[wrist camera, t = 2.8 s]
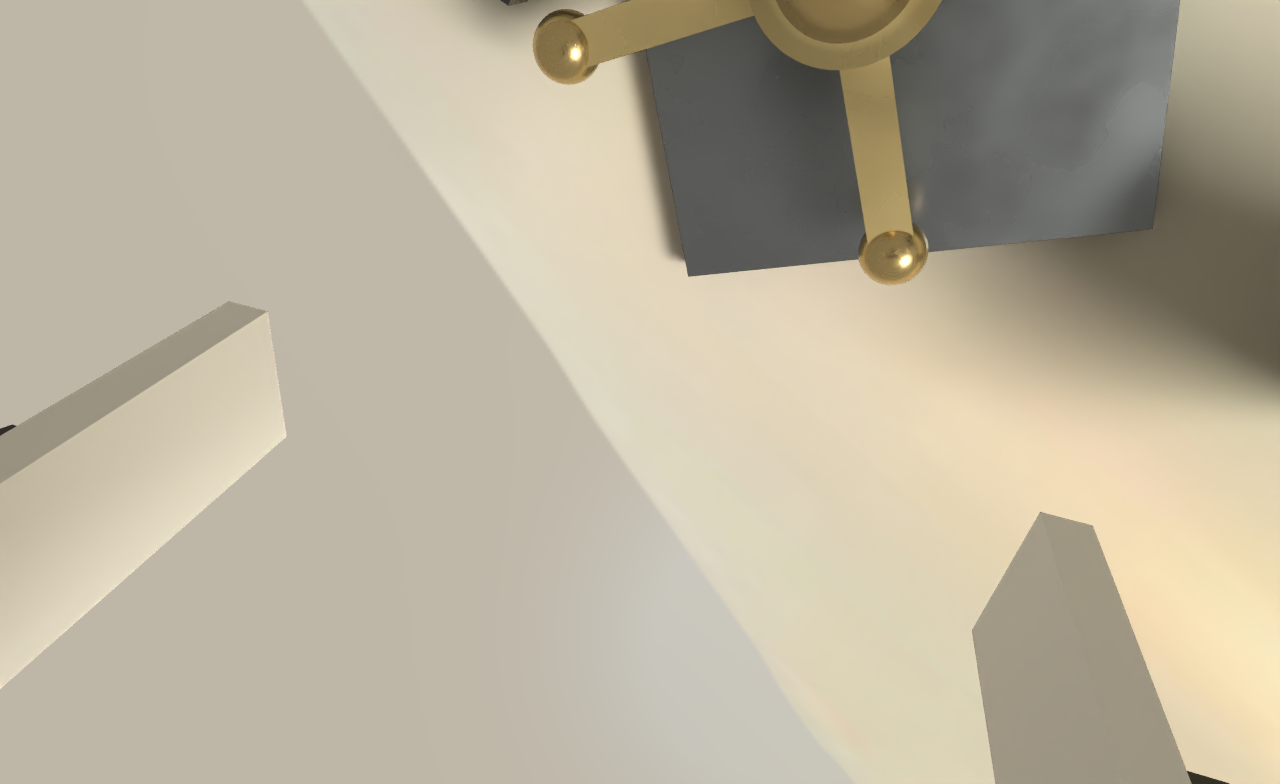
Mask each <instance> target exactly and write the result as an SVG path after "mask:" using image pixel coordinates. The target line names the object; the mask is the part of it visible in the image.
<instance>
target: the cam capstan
mask: <svg viewBox="0 0 1280 784" xmlns="http://www.w3.org/2000/svg"><path fill="white" fill-rule="evenodd" d="M941 1H942V0H630V1H627V2H624V3H621V4H618V5H615V6H612V7H609V8H606V9H603V10H600V11H597V12H594V13H591V14H588V15H584V14H582V13H580V12H578V11H575V10H571V9H561V10H557V11H554V12H552V13H550V14H548V15H547V16H546V17H545V18H544V19H543V20H542V21H541V22H540V23H539V25H538V27H537V29H536V31H535V34H534V39H533V52H534V57H535V60H536V62H537V64H538V66H539V68H540V69H541V71H542V72H543V73H544V74H545V75H546V76H547V77H548V78H550V79H552V80H553V81H555V82H557V83H561V84H568V85H571V84H577V83H580V82H582V81H584V80H586V79H587V78H588V77H590V76H591V75H592V74H593V73H594V71H595V70H596V68H597V66H598V64H599V63H602V62H606V61H609V60H612V59H615V58H619V57H622V56H625V55H628V54H632V53H635V52H638V51H641V50H644V49H648V48H651V47H654V46H657V45H661V44H664V43H667V42H670V41H673V40H677V39H680V38H683V37H686V36H690V35H693V34H696V33H699V32H702V31H706V30H709V29H712V28H715V27H719V26H722V25H725V24H728V23H731V22H735V21H738V20H741V19H744V18H748V17H751V16H755V18H756V21H757V23H758V24H759V26H760V27H761V29H762V30H763V32H764V34H765V35H766V36H767V37H768V38H769V40H770V41H771V42H772V43H773V44H774V45H775V46H776V47H777V48H778V49H780V50H781V51H782V52H783V53H785V54H786V55H788V56H789V57H791V58H792V59H794V60H796V61H798V62H800V63H802V64H805V65H808V66H811V67H814V68H819V69H825V70H840V77H841V83H842V89H843V95H844V101H845V107H846V113H847V119H848V126H849V132H850V138H851V144H852V150H853V156H854V162H855V169H856V175H857V181H858V187H859V193H860V199H861V205H862V212H863V218H864V224H865V230H866V232H865V233H864V235H863V236H862V238H861V241H860V244H859V249H858V257H859V262H860V265H861V267H862V269H863V270H864V272H865V273H866V274H867V275H868V276H869V277H870V278H871V279H873V280H874V281H876V282H878V283H881V284H886V285H896V284H901V283H904V282H907V281H909V280H911V279H912V278H914V277H915V276H916V275H917V274H918V273H919V272H920V271H921V270H922V268H923V267H924V265H925V263H926V260H927V257H928V241H927V238H926V236H925V234H924V232H923V230H922V229H921V228H920V227H919V226H918V225H917V224H916V223H914V222H913V221H912V220H911V213H910V205H909V198H908V190H907V183H906V175H905V168H904V160H903V153H902V145H901V138H900V131H899V123H898V116H897V108H896V101H895V93H894V86H893V78H892V71H891V63H890V55H892V54H893V53H895V52H896V51H898V50H899V49H900V48H902V47H903V46H905V45H906V44H907V43H908V42H909V41H910V40H912V39H913V38H914V37H915V36H916V35H917V34H918V33H919V32H920V31H921V29H922V28H923V27H924V26H925V25H926V24H927V23H928V21H929V20H930V18H931V17H932V16H933V14H934V13H935V11H936V10H937V8H938V6H939V4H940V3H941Z"/></svg>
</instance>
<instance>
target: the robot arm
mask: <svg viewBox="0 0 1280 784" xmlns="http://www.w3.org/2000/svg"><path fill="white" fill-rule="evenodd" d="M285 437H286V429H285V423H284V416H283V409H282V403H281V396H280V390H279V383H278V376H277V370H276V363H275V357H274V350H273V344H272V337H271V331H270V324H269V317H268V311H264V310H260V309H256V308H252V307H249V306H245V305H241V304H237V303H233V302H230V301H229V302H227V303H225V304H223V305H222V306H220V307H218V308H217V309H215V310H213V311H212V312H210V313H209V314H206V315H205V316H203V317H201V318H200V319H198V320H196V321H194V322H193V323H191V324H189V325H188V326H186V327H184V328H183V329H181V330H179V331H178V332H176V333H174V334H173V335H171V336H169V337H167V338H166V339H164V340H162V341H161V342H159V343H157V344H155V345H154V346H152V347H150V348H149V349H147V350H145V351H144V352H142V353H140V354H138V355H137V356H135V357H133V358H132V359H130V360H128V361H127V362H125V363H123V364H121V365H120V366H118V367H116V368H115V369H113V370H111V371H110V372H108V373H106V374H105V375H103V376H101V377H100V378H98V379H96V380H94V381H93V382H91V383H89V384H87V385H86V386H84V387H83V388H81V389H79V390H77V391H76V392H74V393H73V394H71V395H69V396H67V397H65V398H64V399H62V400H60V401H59V402H57V403H56V404H53V405H52V406H50V407H48V408H47V409H45V410H43V411H42V412H40V413H38V414H37V415H35V416H33V417H32V418H30V419H28V420H26V421H25V422H23V423H21V424H20V425H18V426H15V425H10V426H7V427H4V428H1V429H0V689H1V688H2V687H3V686H4V685H5V684H6V683H7V682H8V681H10V680H11V679H12V678H13V677H14V676H15V675H16V674H18V673H19V672H20V671H21V670H22V669H23V668H24V667H26V666H27V665H28V664H29V663H30V662H31V661H32V660H33V659H35V658H36V657H37V656H38V655H39V654H40V653H41V652H43V651H44V650H45V649H46V648H47V647H48V646H49V645H50V644H52V643H53V642H54V641H55V640H56V639H57V638H58V637H60V636H61V635H62V634H63V633H64V632H65V631H66V630H67V629H69V628H70V627H71V626H72V625H73V624H74V623H75V622H77V621H78V620H79V619H80V618H81V617H82V616H83V615H85V614H86V613H87V612H88V611H89V610H90V609H91V608H92V607H94V606H95V605H96V604H97V603H98V602H99V601H100V600H102V599H103V598H104V597H105V596H106V595H107V594H108V593H109V592H110V591H112V590H113V589H114V588H115V587H116V586H117V585H119V584H120V583H121V582H122V581H123V580H124V579H125V578H126V577H128V576H129V575H130V574H131V573H132V572H133V571H134V570H136V569H137V568H138V567H139V566H140V565H141V564H142V563H143V562H145V561H146V560H147V559H148V558H149V557H150V556H151V555H153V554H154V553H155V552H156V551H157V550H158V549H159V548H160V547H162V546H163V545H164V544H165V543H166V542H167V541H168V540H170V539H171V538H172V537H173V536H174V535H175V534H176V533H177V532H179V531H180V530H181V529H182V528H183V527H184V526H185V525H187V524H188V523H189V522H190V521H191V520H192V519H193V518H195V517H196V516H197V515H198V514H199V513H200V512H201V511H202V510H204V509H205V508H206V507H207V506H208V505H209V504H210V503H212V502H213V501H214V500H215V499H216V498H217V497H218V496H219V495H220V494H222V493H223V492H224V491H225V490H226V489H227V488H229V487H230V486H231V485H232V484H233V483H234V482H235V481H237V479H239V478H240V477H241V476H242V475H243V474H244V473H246V472H247V471H248V470H249V469H250V468H251V467H252V466H254V465H255V464H256V463H257V462H258V461H259V460H260V459H261V458H263V457H264V456H265V455H266V454H267V453H268V452H269V451H271V450H272V449H273V448H274V447H275V446H276V445H277V444H278V443H279V442H281V441H282V440H283V439H284V438H285ZM972 634H973V641H974V647H975V654H976V660H977V667H978V673H979V680H980V686H981V693H982V699H983V706H984V712H985V719H986V725H987V732H988V738H989V744H990V751H991V757H992V764H993V770H994V777H995V783H996V784H1229V783H1226V782H1223V781H1219V780H1216V779H1213V778H1209V777H1206V776H1202V775H1199V774H1196V773H1192V772H1189V771H1187V770H1186V768H1185V765H1184V763H1183V760H1182V757H1181V755H1180V752H1179V750H1178V747H1177V744H1176V742H1175V739H1174V737H1173V734H1172V731H1171V729H1170V726H1169V723H1168V721H1167V718H1166V716H1165V713H1164V710H1163V708H1162V705H1161V703H1160V700H1159V697H1158V695H1157V692H1156V689H1155V687H1154V684H1153V682H1152V679H1151V676H1150V674H1149V671H1148V669H1147V666H1146V663H1145V661H1144V658H1143V656H1142V653H1141V650H1140V648H1139V645H1138V642H1137V640H1136V637H1135V635H1134V632H1133V629H1132V627H1131V624H1130V622H1129V619H1128V616H1127V614H1126V611H1125V609H1124V606H1123V603H1122V601H1121V598H1120V595H1119V593H1118V590H1117V588H1116V585H1115V582H1114V580H1113V577H1112V575H1111V572H1110V569H1109V567H1108V564H1107V562H1106V559H1105V556H1104V554H1103V551H1102V548H1101V546H1100V543H1099V541H1098V538H1097V535H1096V533H1095V530H1094V528H1093V526H1092V525H1088V524H1085V523H1081V522H1077V521H1073V520H1069V519H1065V518H1061V517H1058V516H1054V515H1050V514H1046V513H1042V512H1040V513H1039V515H1038V517H1037V519H1036V520H1035V522H1034V524H1033V526H1032V527H1031V529H1030V531H1029V533H1028V534H1027V536H1026V538H1025V539H1024V541H1023V543H1022V545H1021V546H1020V548H1019V550H1018V552H1017V553H1016V555H1015V557H1014V558H1013V560H1012V562H1011V564H1010V565H1009V567H1008V569H1007V571H1006V572H1005V574H1004V576H1003V577H1002V579H1001V581H1000V583H999V584H998V586H997V588H996V590H995V591H994V593H993V595H992V597H991V598H990V600H989V602H988V603H987V605H986V607H985V609H984V610H983V612H982V614H981V616H980V617H979V619H978V621H977V622H976V624H975V626H974V628H973V629H972Z"/></svg>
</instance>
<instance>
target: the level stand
mask: <svg viewBox="0 0 1280 784" xmlns="http://www.w3.org/2000/svg"><path fill="white" fill-rule="evenodd" d="M501 1H503V2H504V3H505V4H507V5H508V6H509V5H513V4H518V3H522V2H526V1H528V0H501ZM1179 5H1180V0H942V1H941V3H940V4H939V6H938V8H937V10H936V11H935V13H934V14H933V16H932V17H931V18H930V20H929V21H928V23H927V24H926V25H925V26H924V27H923V28H922V29H921V31H920V32H919V33H918V34H917V35H916V36H915V37H914V38H913V39H912V40H910V41H909V42H908V43H907V44H906V45H905V46H903V47H902V48H900V49H899V50H898V51H896V52H895V53H893V54H892V55H890V63H891V71H892V78H893V86H894V93H895V101H896V108H897V116H898V123H899V131H900V138H901V145H902V153H903V160H904V168H905V175H906V183H907V190H908V198H909V205H910V213H911V220H912V221H913V222H914V223H916V224H917V225H918V226H919V227H920V228H921V229H922V230H923V232H924V234H925V236H926V238H927V241H928V252H934V251H944V250H953V249H963V248H973V247H983V246H992V245H1002V244H1012V243H1022V242H1032V241H1041V240H1051V239H1061V238H1071V237H1081V236H1090V235H1100V234H1110V233H1120V232H1129V231H1139V230H1149V229H1153V222H1154V213H1155V205H1156V197H1157V188H1158V180H1159V172H1160V163H1161V155H1162V147H1163V138H1164V130H1165V122H1166V113H1167V105H1168V97H1169V88H1170V80H1171V72H1172V63H1173V55H1174V47H1175V38H1176V30H1177V22H1178V13H1179ZM646 53H647V58H648V63H649V69H650V74H651V79H652V85H653V90H654V95H655V101H656V106H657V111H658V117H659V122H660V127H661V133H662V138H663V144H664V149H665V154H666V160H667V165H668V170H669V176H670V181H671V186H672V192H673V197H674V202H675V208H676V213H677V218H678V224H679V229H680V235H681V240H682V245H683V251H684V256H685V261H686V267H687V272H688V277H689V276H699V275H709V274H719V273H728V272H738V271H748V270H758V269H767V268H777V267H787V266H797V265H807V264H816V263H826V262H836V261H846V260H856V259H859V257H858V249H859V244H860V241H861V238H862V236H863V235H864V233H865V232H866V230H865V224H864V218H863V212H862V205H861V199H860V193H859V187H858V181H857V175H856V169H855V162H854V156H853V150H852V144H851V138H850V132H849V126H848V119H847V113H846V107H845V101H844V95H843V89H842V83H841V77H840V70H825V69H819V68H814V67H811V66H808V65H805V64H802V63H800V62H798V61H796V60H794V59H792V58H791V57H789V56H788V55H786V54H785V53H783V52H782V51H781V50H780V49H778V48H777V47H776V46H775V45H774V44H773V43H772V42H771V41H770V40H769V38H768V37H767V36H766V35H765V34H764V32H763V30H762V29H761V27H760V26H759V24H758V23H757V21H756V18H755V16H751V17H748V18H744V19H741V20H738V21H735V22H731V23H728V24H725V25H722V26H719V27H715V28H712V29H709V30H706V31H702V32H699V33H696V34H693V35H690V36H686V37H683V38H680V39H677V40H673V41H670V42H667V43H664V44H661V45H657V46H654V47H651V48H648V49H646Z"/></svg>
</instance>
